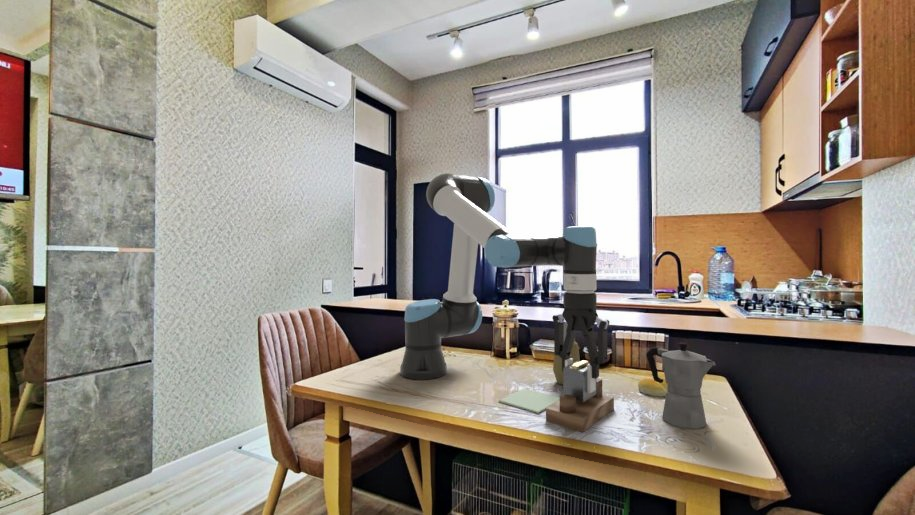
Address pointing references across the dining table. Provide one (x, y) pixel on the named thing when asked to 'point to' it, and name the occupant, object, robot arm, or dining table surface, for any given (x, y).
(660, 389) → the bread roll
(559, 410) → the wooden peg board
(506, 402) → the mat
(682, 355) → the coffeepot
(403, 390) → the dining table surface
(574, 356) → the squeeze bottle
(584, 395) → the lever cap
